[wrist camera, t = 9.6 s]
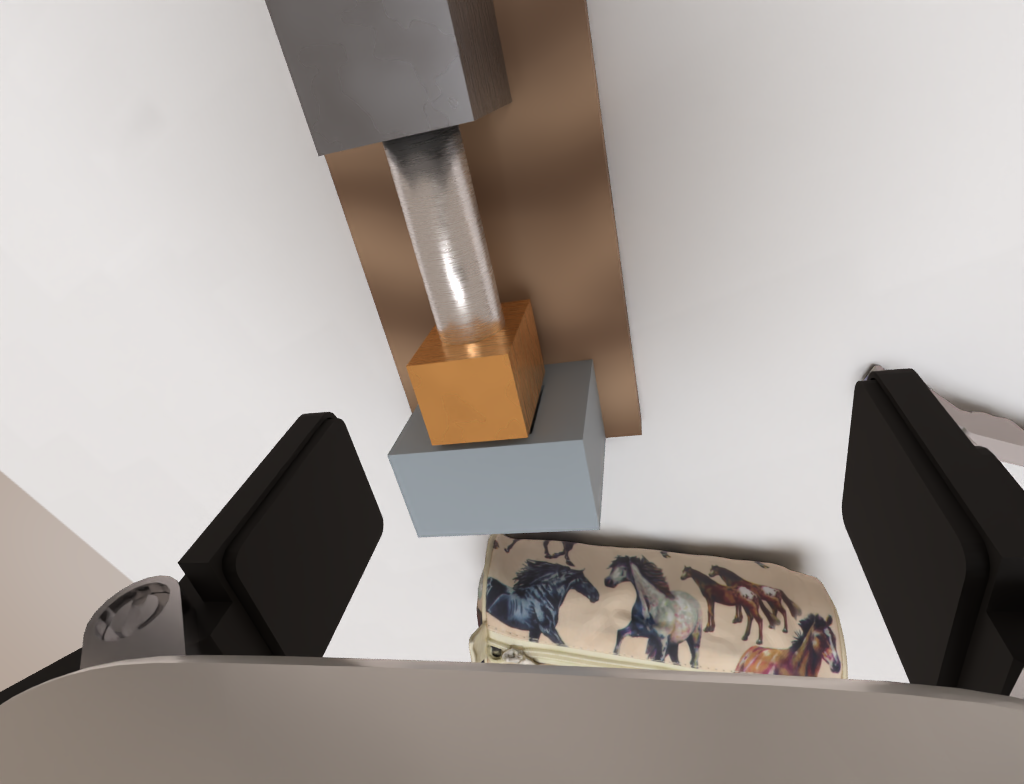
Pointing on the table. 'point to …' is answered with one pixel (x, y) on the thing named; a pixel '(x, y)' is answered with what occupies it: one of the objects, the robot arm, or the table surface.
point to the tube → (462, 302)
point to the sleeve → (390, 66)
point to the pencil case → (651, 611)
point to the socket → (512, 468)
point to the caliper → (987, 431)
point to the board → (519, 210)
